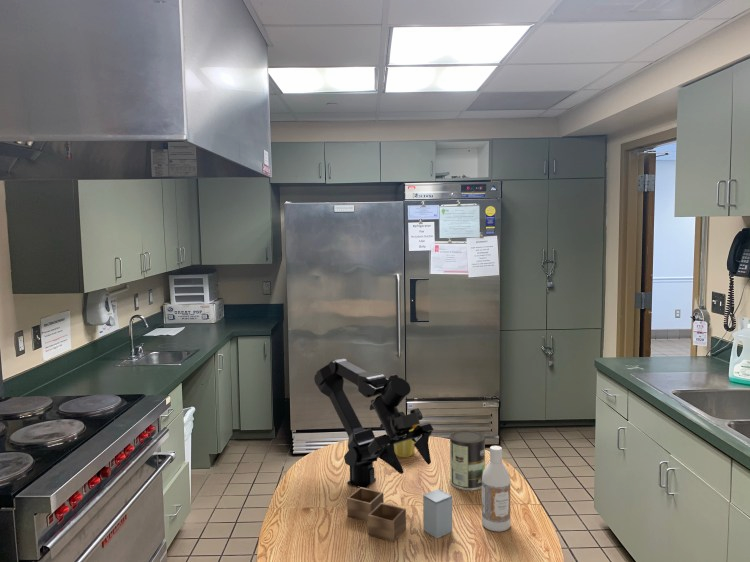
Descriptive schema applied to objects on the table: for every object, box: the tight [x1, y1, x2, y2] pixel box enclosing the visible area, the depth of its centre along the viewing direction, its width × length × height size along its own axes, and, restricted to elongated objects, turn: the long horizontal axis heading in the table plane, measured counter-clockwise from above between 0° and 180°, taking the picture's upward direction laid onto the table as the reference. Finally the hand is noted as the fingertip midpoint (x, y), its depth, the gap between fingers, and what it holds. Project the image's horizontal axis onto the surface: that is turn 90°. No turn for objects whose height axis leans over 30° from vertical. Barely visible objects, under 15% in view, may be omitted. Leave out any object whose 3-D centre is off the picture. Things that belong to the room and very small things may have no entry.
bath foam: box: [481, 445, 511, 533], centre depth 132 cm, size 7×7×20 cm
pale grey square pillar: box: [422, 488, 453, 539], centre depth 131 cm, size 5×5×9 cm
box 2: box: [367, 503, 407, 543], centre depth 131 cm, size 7×7×5 cm
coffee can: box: [448, 429, 486, 491], centre depth 156 cm, size 10×10×14 cm
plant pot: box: [394, 424, 417, 458], centre depth 178 cm, size 10×10×10 cm
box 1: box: [346, 487, 385, 523], centre depth 139 cm, size 7×7×5 cm
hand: (416, 468), depth 136 cm, fingers open, 9 cm apart
